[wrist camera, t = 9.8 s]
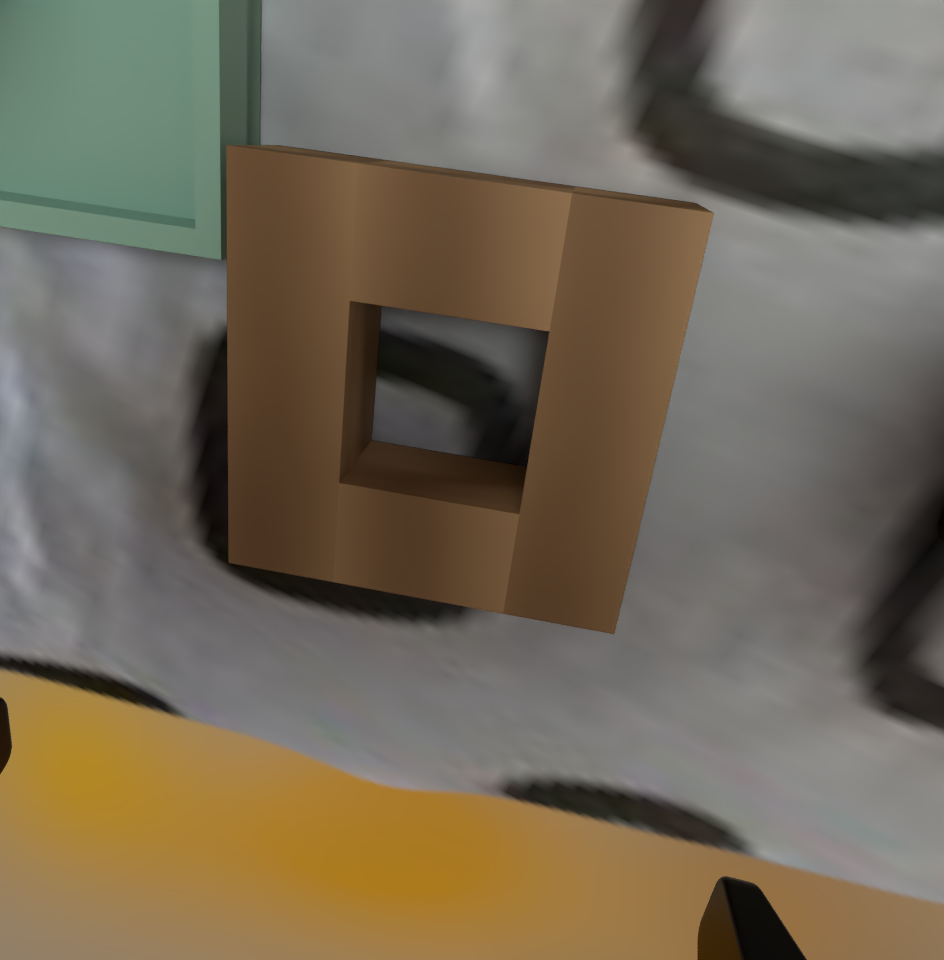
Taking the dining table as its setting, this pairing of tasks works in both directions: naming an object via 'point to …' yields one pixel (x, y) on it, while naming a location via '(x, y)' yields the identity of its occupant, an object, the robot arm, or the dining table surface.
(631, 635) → the dining table surface
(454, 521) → the block
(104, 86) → the tray
